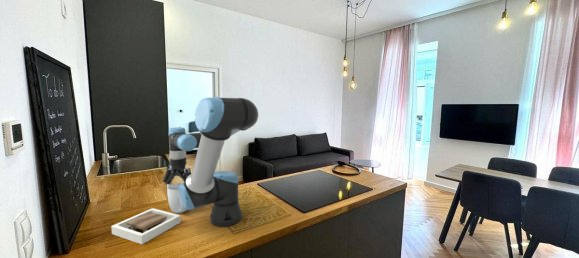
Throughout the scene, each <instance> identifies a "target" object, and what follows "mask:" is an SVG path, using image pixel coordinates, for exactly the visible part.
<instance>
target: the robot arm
mask: <svg viewBox="0 0 579 258" xmlns="http://www.w3.org/2000/svg"><path fill="white" fill-rule="evenodd" d="M194 117H195V118H194V121H195V122H194V123H195V126H196V128H197V129H198V132H194V133H193V132H191V133H186V129H185V128H184V127H178V126H177V127H170V128H169V129H168V144H169V145H168V146H169V147H168V148H169V150H168V151H169V165H168V166H166V170H165V171H166V172H165V174H164V177H163V183H164V184H166V189H167V188H168V187H169V186H171V185H173V180H174V178H175V177H179V178H180V179H181V180H182V181H183V182H181V183H182V184H180V185H179V187H178V191H179V197H180V200H181V203H182V206H183V207H184V209H186V211H190V210H195V209H199V208H201V207H204V206H208V205H211V204H213V205H212V209H211V212H210V216H209V222H210V224H211V225H212V226H215V227H230V226H233V225H236V224H238V223H240V221H242V219H243V212H242V209H241V206H240V202H239V177H238V174H237V173H235V172H234V171H229V170H228V171H227V170H218V171H216V169H217V167H218V166H217V165H218V163H219V159H220V156H221V154H222V151H223V147H224V144H225V142H226V141H228V140H229V139H230V138H231V137H232V136H233V135H235V134H236V133H239V132H240V131H243V132H245V131H247V130H249V129H251V128H252V127H254V126H255V125H256V123H257V122H258V118H259V111H258V108H257V106H256V105H255V104H254V103H253V101H251V100H249V99H247V98H243V97H218V96H213V97H205V98H203V99H201V100H200V101H199V102H198V104H197V106H196V109H195V112H194ZM195 149H197V151H196V156H195V160H194V163H193V167H192V170H191V167H188V168H186V166H187V152H191V151H193V150H195ZM191 171H192V172H191ZM166 191H167V190H166ZM166 195H167V197H168V191H167V193H166Z"/></svg>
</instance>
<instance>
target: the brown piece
mask: <svg viewBox="0 0 579 258" xmlns="http://www.w3.org/2000/svg"><path fill="white" fill-rule="evenodd" d="M165 219H167V216H163V215H160V214H156V213H152V212H149V213H147V214H145V215H143V216H141V217H138V218H136V219H134V220H132V221H129V222H127V225H129V226H131V227H130V230H133V231H136V229H139V230H142V232H143V233H144V232H146V231H148V229H149V228H152V227H153V226H155V225H157V224H161V223H163V222H165V221H166V220H165Z"/></svg>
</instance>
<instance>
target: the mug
mask: <svg viewBox="0 0 579 258" xmlns="http://www.w3.org/2000/svg"><path fill="white" fill-rule="evenodd" d="M182 183H183V182H180V183H175V184H173V183H172V185H171V186H169V187H168V188H167V187H166V191H168V196H167V199H168V200H167V201H168V205H169V208H170V210H171V211H172V212H173V214H182V213H184V212H185V213H186V212H187V210H186V209H184V207H183V206H182V203H181V200H180V197H179V191H178V187H179V185H180V184H182Z"/></svg>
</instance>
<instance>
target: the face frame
mask: <svg viewBox="0 0 579 258" xmlns="http://www.w3.org/2000/svg"><path fill="white" fill-rule="evenodd" d="M149 212H152V213H156V214H160V215H163V216H167V219H165V220H164V222H163V223H161V224H160V223H158V225H157V224H156V226H154V227H151V228H150V229H149V230H148V229H147V230H148V231H146V232H144V233H142V232H139V231H136V230H135V231H133V230H131V226H129V225H127V222H129V221H132V220H134V219H136V218H138V217H141V216H143V215H145V214H147V213H149ZM181 221H182V220H181V215H180V214H178V213H174V212H173V213H172V212H168V211H165V210H162V209H157V208H154V207H151V208H150V209H147V210H145V211H143V212H140V213H139V214H138V213H137V214H135V215H134V216H132V217H130V218H127V219H124V220H123V221H120V222H117V223H115V224H113V225H111V226H110V227H111V235H114V236H117V237H120V238H122V239H126V240H128V241H132V242H134V243H136V244H140V245H144V244H146V243H147V242H149V241H151V240H152V239H154V238H156V237H158V236H159V235H161V234H164V232H166V231H168V230H170V229H172V228H174V227H175V226H177V225H179V224H180V223H182V222H181Z"/></svg>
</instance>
